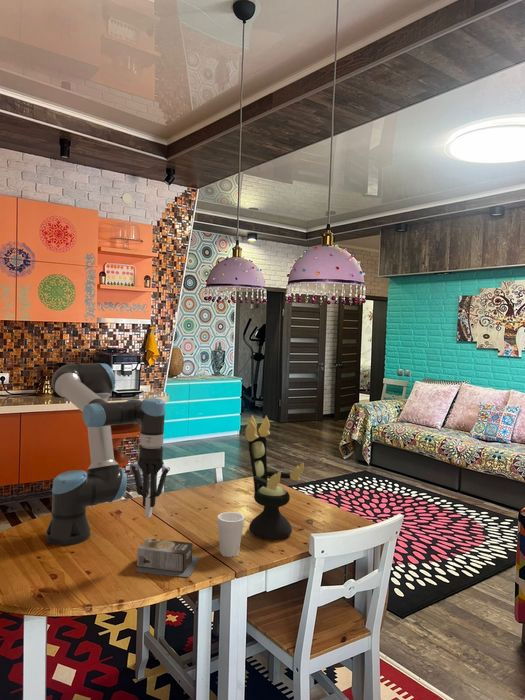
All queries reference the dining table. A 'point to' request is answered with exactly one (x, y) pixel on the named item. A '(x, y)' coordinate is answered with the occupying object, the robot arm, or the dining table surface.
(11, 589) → the dining table surface
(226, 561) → the dining table surface
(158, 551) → the coffee box
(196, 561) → the mat
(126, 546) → the dining table surface
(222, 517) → the foam cup
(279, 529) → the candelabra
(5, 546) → the dining table surface
